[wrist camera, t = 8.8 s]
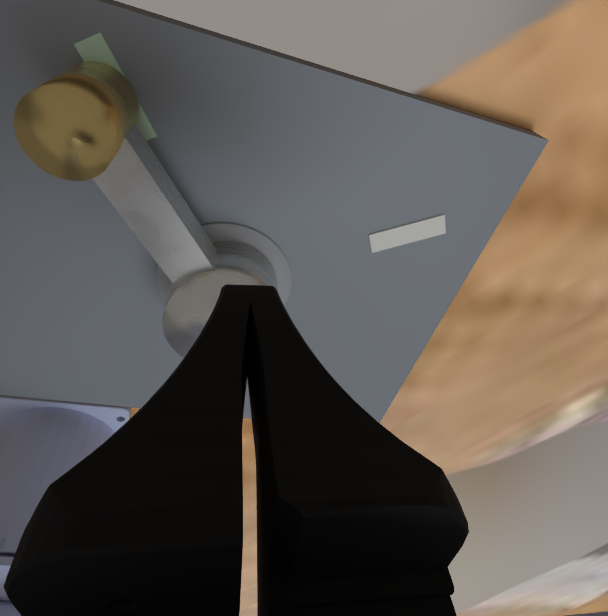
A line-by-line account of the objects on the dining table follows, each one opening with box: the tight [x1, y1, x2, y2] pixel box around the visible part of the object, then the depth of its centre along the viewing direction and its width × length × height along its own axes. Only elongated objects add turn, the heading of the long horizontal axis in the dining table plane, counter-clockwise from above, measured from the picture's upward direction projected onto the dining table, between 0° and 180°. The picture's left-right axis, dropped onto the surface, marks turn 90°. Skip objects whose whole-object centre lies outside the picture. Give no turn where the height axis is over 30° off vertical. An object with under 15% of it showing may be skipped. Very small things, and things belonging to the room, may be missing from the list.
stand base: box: [0, 0, 549, 423], centre depth 22 cm, size 20×24×1 cm
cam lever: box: [14, 61, 279, 358], centre depth 17 cm, size 13×5×4 cm, turn 23°
